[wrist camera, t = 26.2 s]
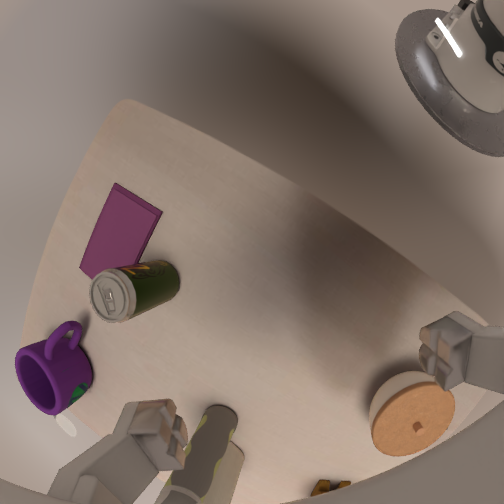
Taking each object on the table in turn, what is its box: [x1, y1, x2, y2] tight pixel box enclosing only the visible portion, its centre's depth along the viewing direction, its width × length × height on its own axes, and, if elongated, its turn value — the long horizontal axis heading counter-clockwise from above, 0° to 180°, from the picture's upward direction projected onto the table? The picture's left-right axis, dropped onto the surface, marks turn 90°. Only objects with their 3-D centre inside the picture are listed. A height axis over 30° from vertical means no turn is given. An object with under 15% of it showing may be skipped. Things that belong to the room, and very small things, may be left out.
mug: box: [15, 321, 92, 415], centre depth 35 cm, size 17×11×10 cm, turn 146°
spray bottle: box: [154, 406, 238, 504], centre depth 27 cm, size 5×5×20 cm
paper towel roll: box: [202, 441, 244, 504], centre depth 26 cm, size 7×6×21 cm
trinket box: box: [369, 371, 455, 456], centre depth 28 cm, size 11×11×9 cm
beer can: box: [89, 260, 179, 323], centre depth 31 cm, size 5×5×12 cm
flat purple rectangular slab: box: [79, 183, 163, 280], centre depth 37 cm, size 14×9×1 cm, turn 150°
